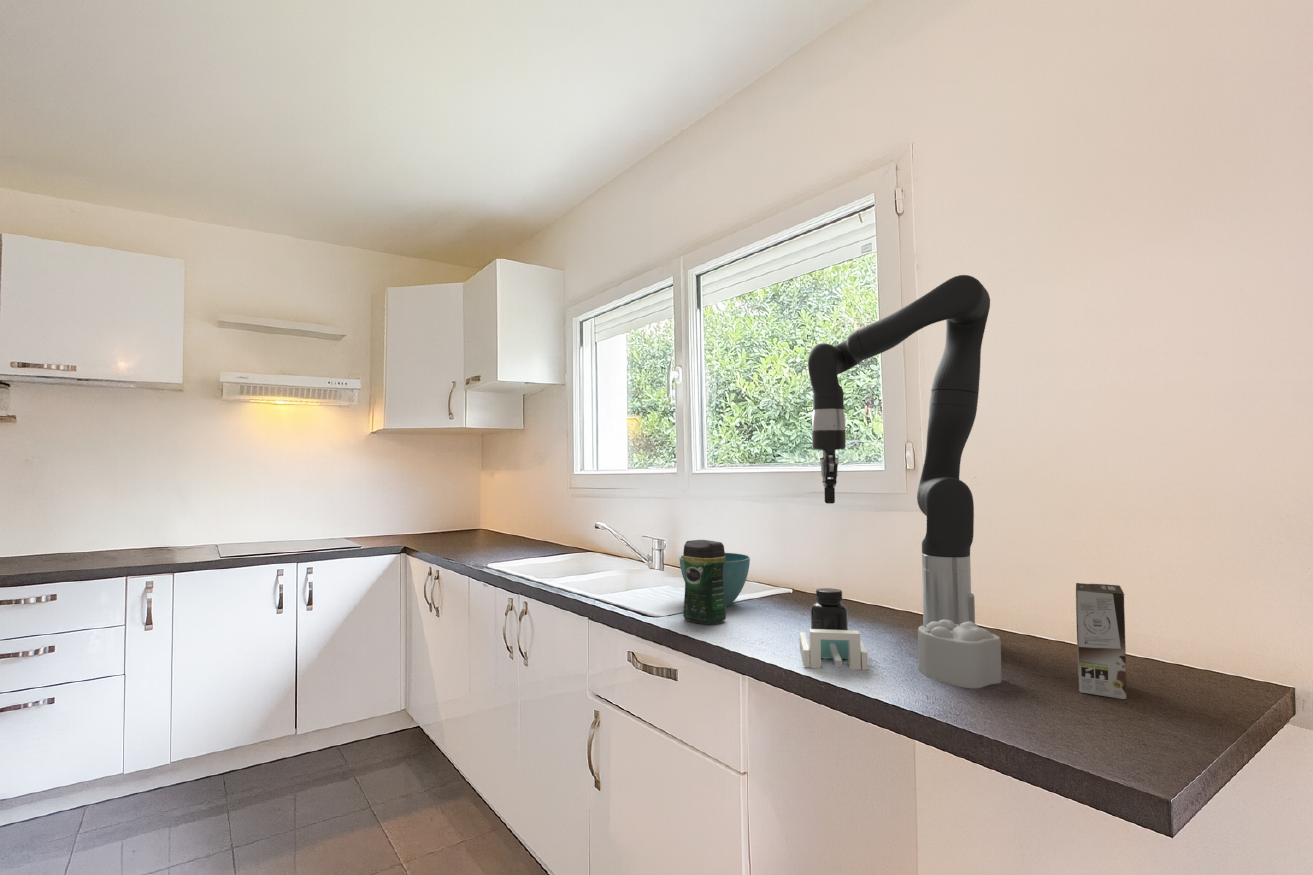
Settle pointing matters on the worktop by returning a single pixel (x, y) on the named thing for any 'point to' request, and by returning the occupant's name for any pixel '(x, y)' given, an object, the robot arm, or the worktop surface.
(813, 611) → the supplement bottle
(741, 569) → the teal bowl
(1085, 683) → the coffee box
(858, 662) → the white stand with panel
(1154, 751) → the worktop surface
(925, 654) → the lumpy-topped squat cylinder
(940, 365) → the robot arm
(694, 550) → the coffee jar
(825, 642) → the pusher
